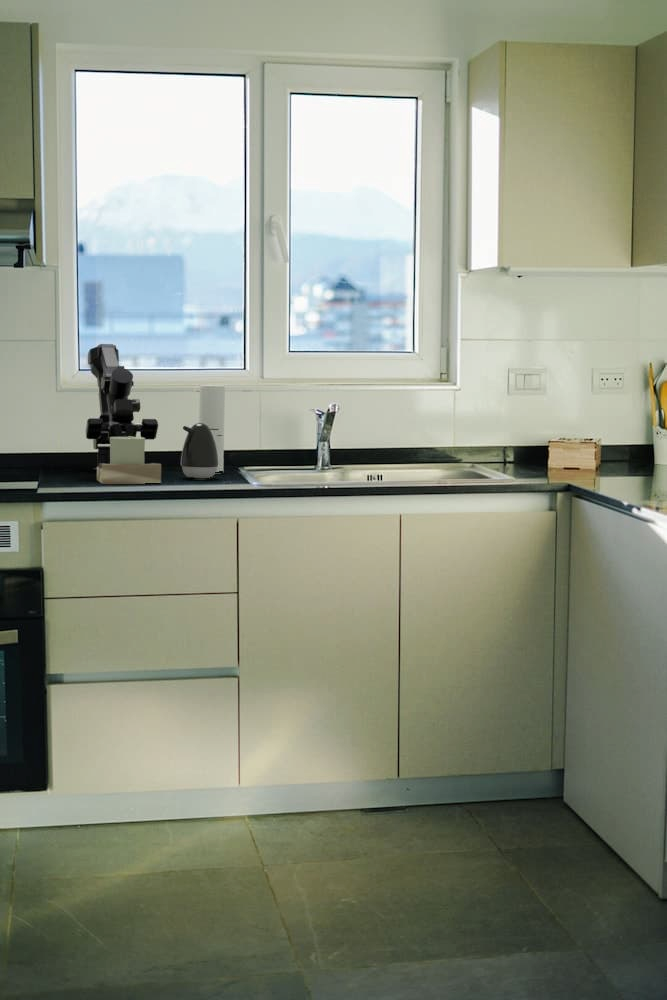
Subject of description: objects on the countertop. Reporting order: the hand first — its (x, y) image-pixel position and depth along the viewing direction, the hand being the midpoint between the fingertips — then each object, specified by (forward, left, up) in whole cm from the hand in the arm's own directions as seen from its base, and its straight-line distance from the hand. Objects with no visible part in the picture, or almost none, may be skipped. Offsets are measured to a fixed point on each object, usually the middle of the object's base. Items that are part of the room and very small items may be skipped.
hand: (125, 452), depth 324 cm
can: (+3, +3, -8) cm, 9 cm away
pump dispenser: (-16, +13, -8) cm, 22 cm away
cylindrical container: (-35, +5, -8) cm, 36 cm away
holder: (+4, +4, -7) cm, 9 cm away
